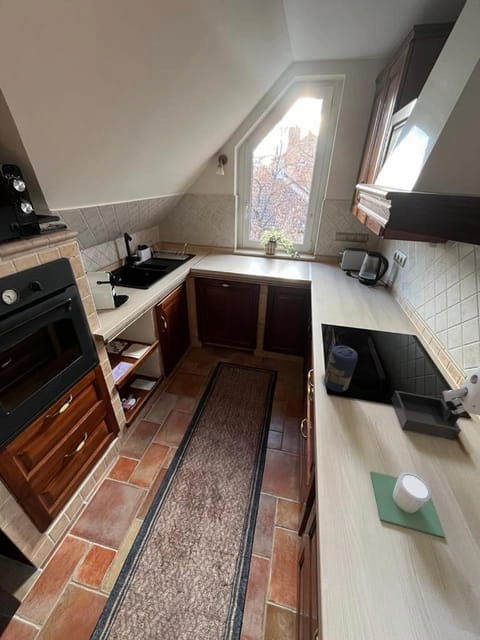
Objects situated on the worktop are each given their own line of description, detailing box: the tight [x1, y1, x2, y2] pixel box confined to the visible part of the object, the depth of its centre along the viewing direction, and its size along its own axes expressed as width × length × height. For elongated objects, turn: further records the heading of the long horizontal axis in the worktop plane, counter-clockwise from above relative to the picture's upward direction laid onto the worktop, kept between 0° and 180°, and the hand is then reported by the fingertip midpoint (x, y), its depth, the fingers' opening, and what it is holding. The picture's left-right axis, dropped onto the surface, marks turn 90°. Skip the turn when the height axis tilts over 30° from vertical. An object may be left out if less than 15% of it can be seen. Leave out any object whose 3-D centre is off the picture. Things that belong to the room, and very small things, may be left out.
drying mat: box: [370, 471, 446, 539], centre depth 66 cm, size 14×12×1 cm
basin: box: [390, 390, 462, 441], centre depth 88 cm, size 16×14×5 cm
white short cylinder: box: [393, 471, 432, 513], centre depth 64 cm, size 7×7×7 cm
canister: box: [323, 345, 359, 393], centre depth 98 cm, size 10×10×18 cm
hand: (471, 426), depth 58 cm, fingers open, 9 cm apart
